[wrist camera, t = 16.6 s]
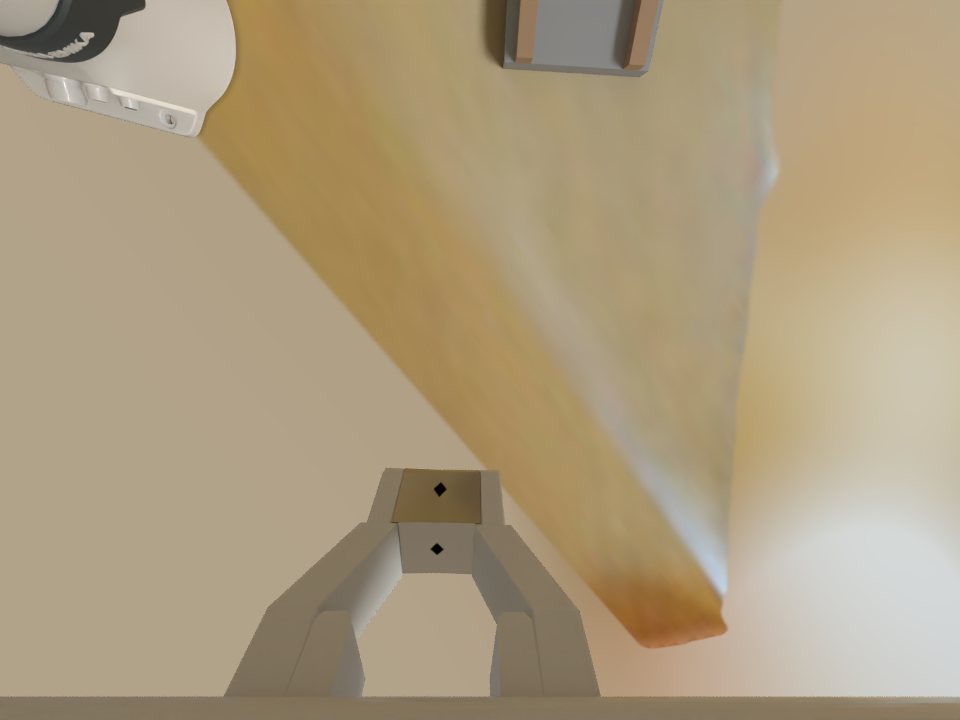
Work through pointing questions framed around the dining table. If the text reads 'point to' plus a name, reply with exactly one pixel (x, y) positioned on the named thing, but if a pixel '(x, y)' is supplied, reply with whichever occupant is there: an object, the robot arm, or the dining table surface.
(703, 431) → the dining table surface
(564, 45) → the tray
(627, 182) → the dining table surface
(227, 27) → the robot arm
